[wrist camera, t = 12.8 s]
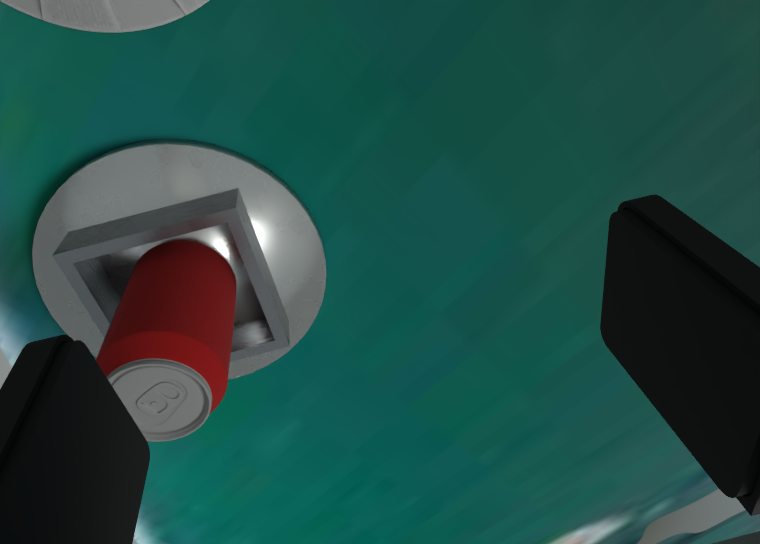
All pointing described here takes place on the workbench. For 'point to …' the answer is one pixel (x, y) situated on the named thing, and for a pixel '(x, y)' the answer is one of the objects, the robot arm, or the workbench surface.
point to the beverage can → (172, 339)
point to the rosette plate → (181, 223)
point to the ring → (107, 13)
